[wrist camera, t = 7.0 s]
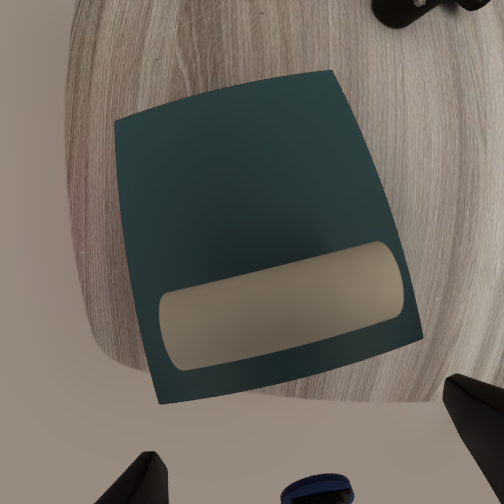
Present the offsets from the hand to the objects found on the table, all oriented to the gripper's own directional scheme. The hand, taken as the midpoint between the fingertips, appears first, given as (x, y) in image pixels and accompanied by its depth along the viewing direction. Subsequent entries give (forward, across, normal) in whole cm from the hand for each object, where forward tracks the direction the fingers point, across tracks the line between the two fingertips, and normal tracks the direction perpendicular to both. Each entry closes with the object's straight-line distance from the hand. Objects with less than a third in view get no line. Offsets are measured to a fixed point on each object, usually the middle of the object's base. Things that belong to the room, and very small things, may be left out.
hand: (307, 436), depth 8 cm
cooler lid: (+5, 0, -5) cm, 7 cm away
